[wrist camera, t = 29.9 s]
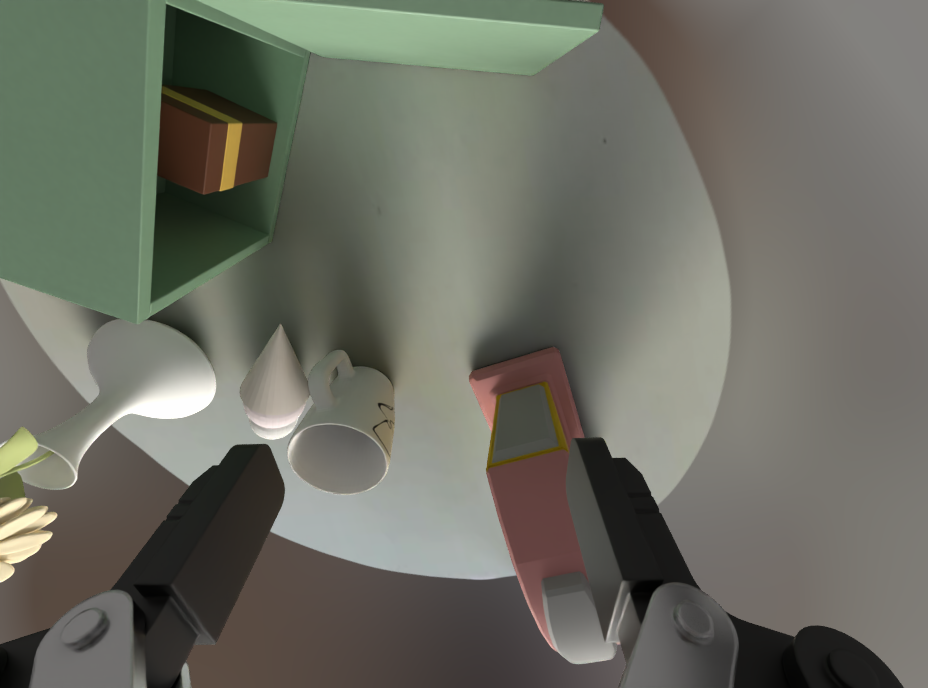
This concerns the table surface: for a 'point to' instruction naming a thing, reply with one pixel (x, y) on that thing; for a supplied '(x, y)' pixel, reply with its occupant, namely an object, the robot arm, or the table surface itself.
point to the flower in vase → (98, 421)
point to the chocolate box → (211, 141)
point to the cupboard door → (428, 30)
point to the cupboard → (128, 148)
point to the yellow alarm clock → (540, 496)
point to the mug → (344, 428)
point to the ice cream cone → (275, 389)
